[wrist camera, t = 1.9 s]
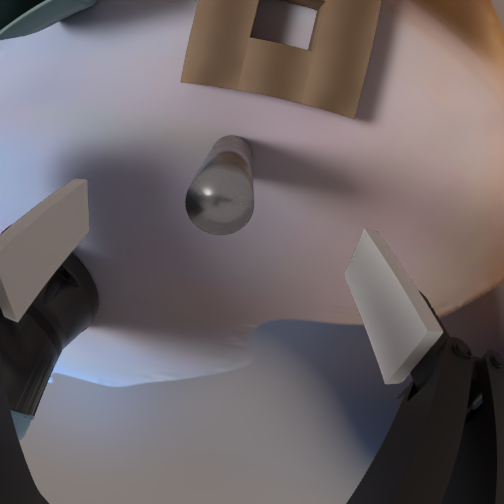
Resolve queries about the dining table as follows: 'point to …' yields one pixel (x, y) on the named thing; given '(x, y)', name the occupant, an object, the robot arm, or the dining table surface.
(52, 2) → the flower pot
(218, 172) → the peg
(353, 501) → the robot arm
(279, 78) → the socket block
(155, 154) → the dining table surface
